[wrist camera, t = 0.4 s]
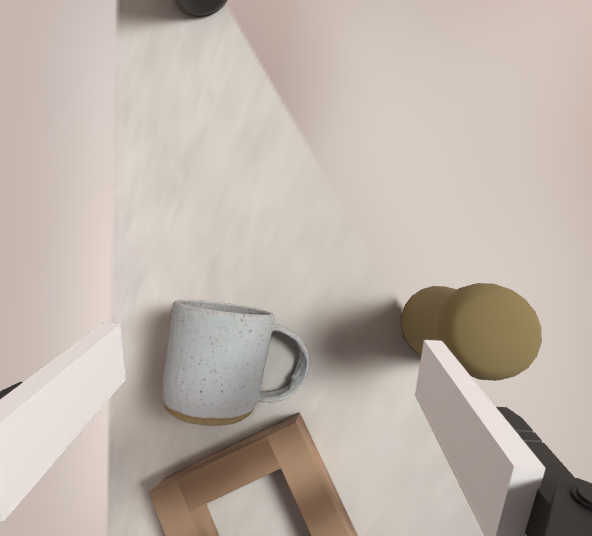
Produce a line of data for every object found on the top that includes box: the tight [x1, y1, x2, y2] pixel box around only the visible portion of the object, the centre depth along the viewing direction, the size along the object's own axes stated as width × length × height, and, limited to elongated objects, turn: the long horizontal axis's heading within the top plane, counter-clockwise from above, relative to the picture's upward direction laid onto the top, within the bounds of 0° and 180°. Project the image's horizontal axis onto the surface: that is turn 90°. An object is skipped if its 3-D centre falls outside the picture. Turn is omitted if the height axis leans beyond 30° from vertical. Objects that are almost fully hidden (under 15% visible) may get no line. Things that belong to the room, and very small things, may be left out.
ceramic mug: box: [162, 300, 310, 426], centre depth 26 cm, size 11×8×8 cm
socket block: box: [149, 413, 358, 536], centre depth 27 cm, size 13×13×2 cm
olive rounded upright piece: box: [401, 283, 542, 381], centre depth 23 cm, size 6×6×11 cm
